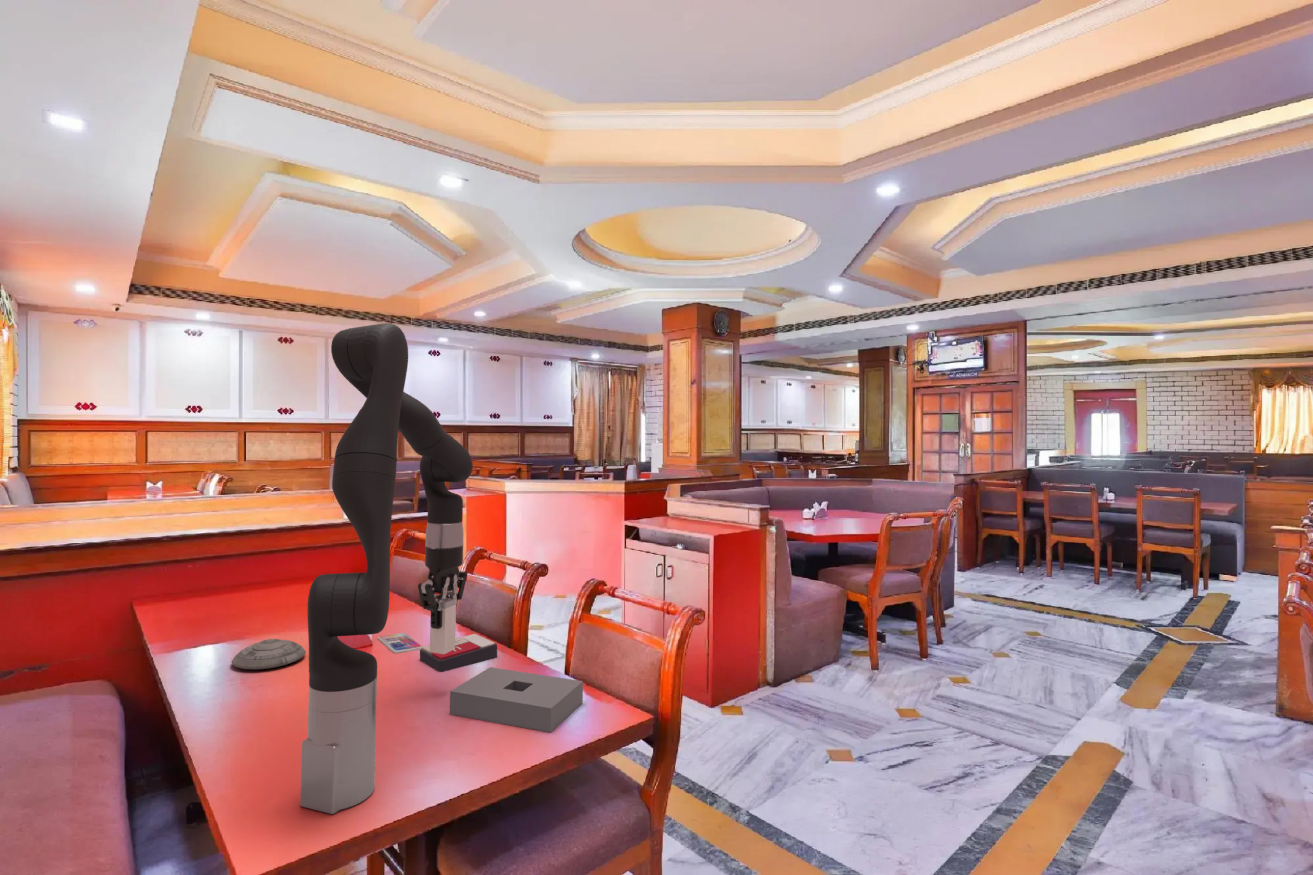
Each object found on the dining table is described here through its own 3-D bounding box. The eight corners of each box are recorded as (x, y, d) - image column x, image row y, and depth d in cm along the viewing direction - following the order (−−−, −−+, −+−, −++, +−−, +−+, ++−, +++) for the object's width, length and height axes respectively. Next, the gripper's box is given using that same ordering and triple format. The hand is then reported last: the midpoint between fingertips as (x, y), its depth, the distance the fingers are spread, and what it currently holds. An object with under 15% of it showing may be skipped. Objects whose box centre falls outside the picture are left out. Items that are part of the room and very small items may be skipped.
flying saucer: (246, 679, 139) (247, 654, 139) (220, 664, 148) (221, 640, 148) (317, 661, 151) (317, 638, 151) (289, 648, 160) (289, 626, 160)
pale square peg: (444, 654, 130) (445, 602, 130) (429, 651, 131) (430, 601, 131) (454, 648, 133) (456, 598, 133) (440, 646, 134) (441, 596, 134)
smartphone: (405, 631, 173) (424, 646, 161) (405, 635, 173) (424, 650, 161) (376, 636, 168) (394, 651, 156) (376, 639, 168) (394, 655, 156)
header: (550, 732, 116) (551, 708, 116) (449, 714, 123) (450, 691, 123) (582, 702, 130) (583, 681, 130) (489, 687, 136) (490, 667, 136)
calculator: (418, 646, 153) (475, 630, 163) (419, 663, 153) (475, 647, 163) (439, 658, 145) (497, 641, 155) (440, 676, 145) (498, 658, 155)
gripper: (450, 537, 140) (448, 614, 140) (406, 547, 126) (404, 633, 126) (479, 539, 138) (477, 618, 138) (438, 550, 124) (436, 637, 124)
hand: (442, 624), depth 132 cm, fingers closed on pale square peg, 3 cm apart
